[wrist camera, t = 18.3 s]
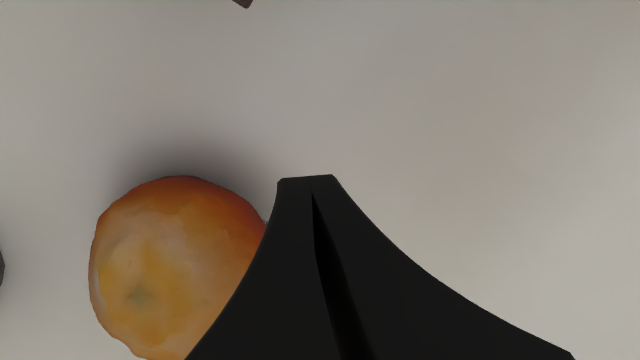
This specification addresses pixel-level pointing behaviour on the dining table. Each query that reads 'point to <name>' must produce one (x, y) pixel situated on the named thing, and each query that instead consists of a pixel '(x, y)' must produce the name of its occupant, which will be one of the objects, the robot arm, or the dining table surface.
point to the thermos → (1, 268)
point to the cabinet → (244, 3)
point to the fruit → (170, 263)
